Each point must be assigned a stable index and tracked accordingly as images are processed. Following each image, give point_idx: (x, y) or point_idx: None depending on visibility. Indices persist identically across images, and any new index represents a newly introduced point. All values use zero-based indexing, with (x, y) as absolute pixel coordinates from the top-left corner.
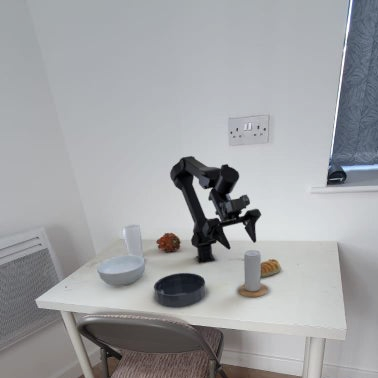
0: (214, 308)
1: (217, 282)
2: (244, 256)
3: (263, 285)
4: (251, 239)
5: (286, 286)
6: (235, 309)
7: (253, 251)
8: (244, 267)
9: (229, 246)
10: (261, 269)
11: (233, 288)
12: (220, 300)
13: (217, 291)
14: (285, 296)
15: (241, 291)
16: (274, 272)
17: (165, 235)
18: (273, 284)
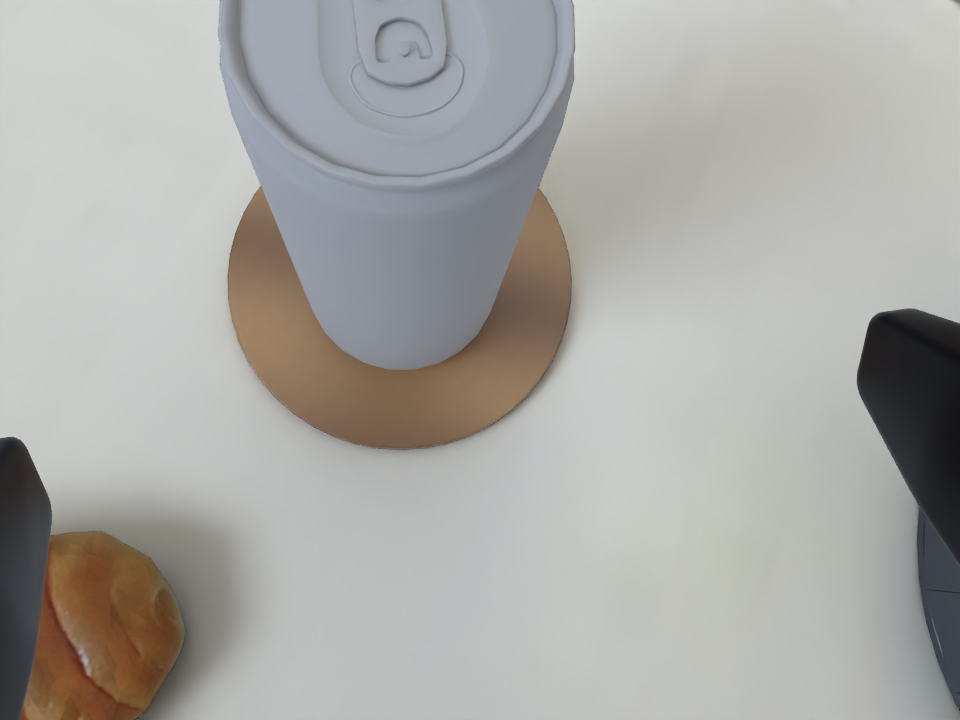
0: (907, 120)
1: (718, 699)
2: (571, 87)
3: (243, 308)
4: (27, 666)
5: (5, 192)
6: (725, 14)
7: (320, 112)
8: (529, 209)
9: (927, 322)
10: (77, 593)
11: (588, 436)
12: (811, 239)
13: (785, 452)
14: (159, 6)
15: (545, 289)
16: None
17: None
18: (108, 307)
